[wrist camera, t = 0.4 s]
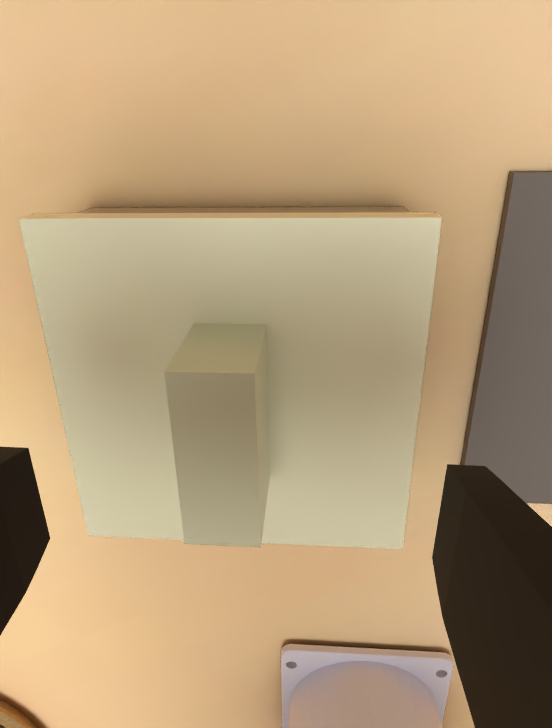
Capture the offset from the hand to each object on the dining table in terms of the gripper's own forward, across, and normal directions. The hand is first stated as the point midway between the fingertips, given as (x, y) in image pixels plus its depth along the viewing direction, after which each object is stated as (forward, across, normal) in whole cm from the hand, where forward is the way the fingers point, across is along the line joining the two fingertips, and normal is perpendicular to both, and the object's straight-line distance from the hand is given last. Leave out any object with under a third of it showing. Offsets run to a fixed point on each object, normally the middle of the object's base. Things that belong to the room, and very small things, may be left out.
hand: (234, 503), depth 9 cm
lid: (+7, +1, +1) cm, 7 cm away
